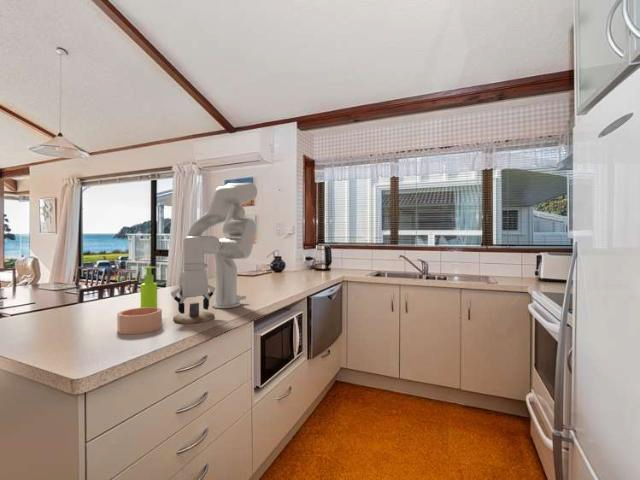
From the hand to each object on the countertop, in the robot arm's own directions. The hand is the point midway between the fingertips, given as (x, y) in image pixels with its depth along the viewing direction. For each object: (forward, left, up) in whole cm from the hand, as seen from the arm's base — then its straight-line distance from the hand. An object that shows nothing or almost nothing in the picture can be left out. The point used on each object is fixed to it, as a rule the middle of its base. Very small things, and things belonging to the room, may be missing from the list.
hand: (194, 310), depth 121 cm
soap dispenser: (+11, -18, -3) cm, 21 cm away
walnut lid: (0, 0, -3) cm, 3 cm away
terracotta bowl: (+19, 0, -3) cm, 19 cm away
